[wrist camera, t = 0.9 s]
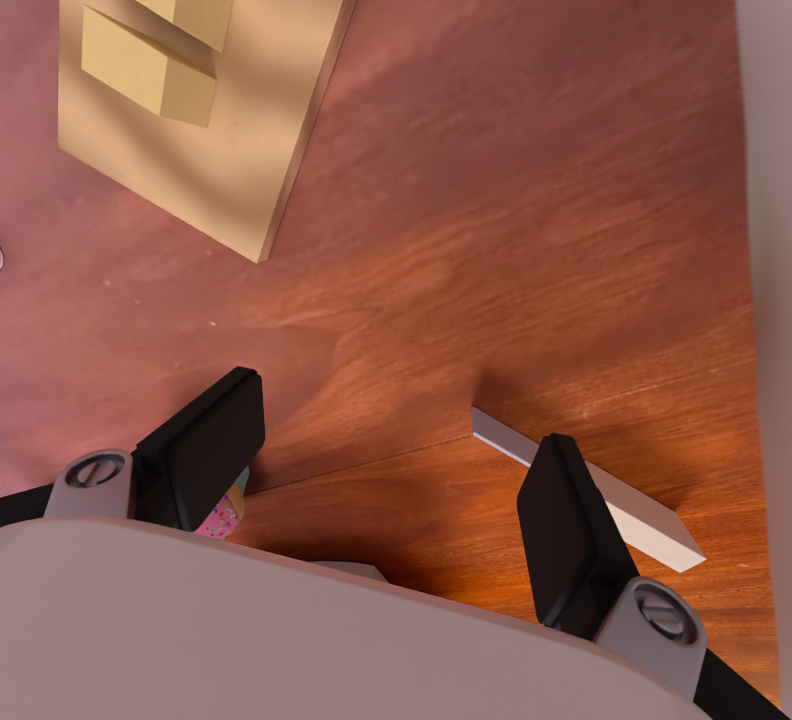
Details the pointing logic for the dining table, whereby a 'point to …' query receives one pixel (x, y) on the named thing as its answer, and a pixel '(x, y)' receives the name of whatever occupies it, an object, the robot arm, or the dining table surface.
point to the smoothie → (1, 259)
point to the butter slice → (145, 70)
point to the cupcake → (226, 511)
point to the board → (229, 117)
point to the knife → (610, 501)
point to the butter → (196, 17)
